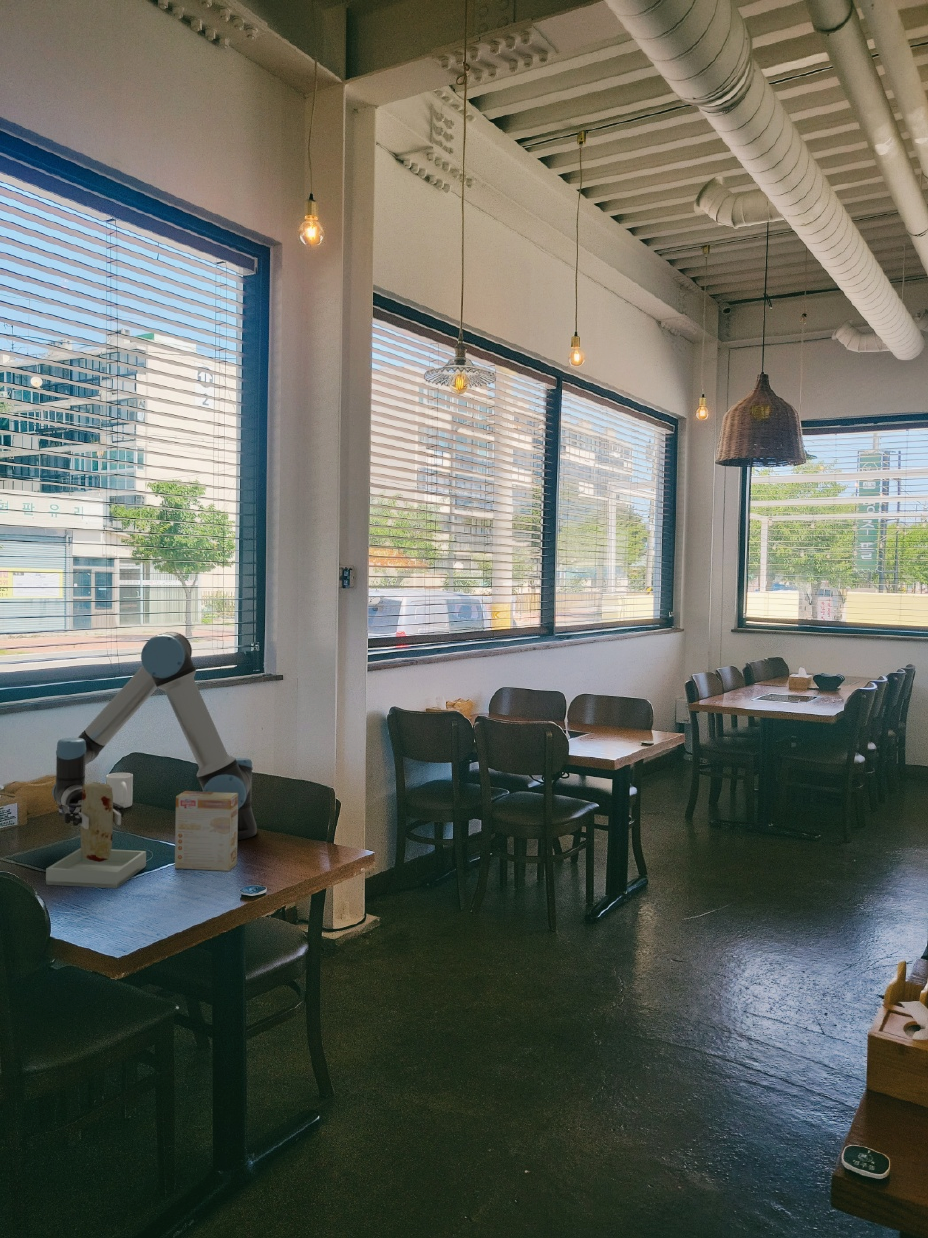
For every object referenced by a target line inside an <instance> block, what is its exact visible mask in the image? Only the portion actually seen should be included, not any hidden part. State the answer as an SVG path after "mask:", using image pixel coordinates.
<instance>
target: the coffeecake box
mask: <svg viewBox="0 0 928 1238" xmlns="http://www.w3.org/2000/svg"><path fill="white" fill-rule="evenodd" d="M174 825H175V833H174V836H175V838H174V869H178V870H179V869H181V870H182V869H185V870H200V871H202V870H203V871H219V872H220V871H221V872H222V871H223V872H230V871H232V869H233V868H234V867H235V866H236V865H237V864H238V840H237V832H238V793H221V792H203V791H196V790H195V791H190V790H184V791H183V792H181V793H179V794H177V795H176V796H175V824H174Z"/></svg>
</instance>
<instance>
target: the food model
mask: <svg viewBox="0 0 928 1238" xmlns="http://www.w3.org/2000/svg"><path fill="white" fill-rule="evenodd" d="M81 812H82V813H83V814H84V815H86V816H87V817H88V818H89V829H85V828H83V827H82V826H81V825H80V848H81V853H82V855H83V856H84V857H85V858H87V859H89V860H93V861H97V862H102V861H104V860H108V859H109V856H110V852H111V850H112V847H113V836H114V835H113V833H114V831H113V830H114V826H113V825H114V822H113V793H112V787H111V786H109V785H108V784H106V783H105V782H103V783H101V782H98V781H95V782H89V783H85V785H83V788H82V804H81Z"/></svg>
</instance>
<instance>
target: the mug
mask: <svg viewBox="0 0 928 1238" xmlns="http://www.w3.org/2000/svg"><path fill="white" fill-rule="evenodd" d="M105 781H106V783H105V784H108V785H109V786H111V787H112V793H113V802H114V803H116V804H118V805H120V806H123V807H124V809H126V808H130V807H131V806H132V805H133V796H134V795H133V786H134V783H133V781H134V775H133V773H130V772H114V773H109V774H106V778H105Z"/></svg>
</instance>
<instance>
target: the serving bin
mask: <svg viewBox="0 0 928 1238" xmlns="http://www.w3.org/2000/svg"><path fill="white" fill-rule="evenodd" d="M146 866H147V851H146V850H130V849H129V850H128V849H127V850H126V849H111V852H110V856H109V859H108V860H104V861H102V862H97V861H93V860H89V859H87V858H85V857H84V856H83V855H82V853H81V847H79V848H78V849H76V850H75V851H73V852H71V853H69V854H68V855H66V856H65V857H63V858H60V860H58V861H56V862H55V863H54V864H52V865H50V866H48V867H47V868H45V885H47V886H67V887H80V888H81V887H83V888H85V887H86V888H100V889H101V888H103V889H118V888H119V887H121V886H122V885H123V884H125V883H126V882H127V881H129V880H130V879H131V878H132V877H134V876H135V875H136V874H138V873H139V872H140V871H142V870H143V869H144V868H146Z"/></svg>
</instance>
